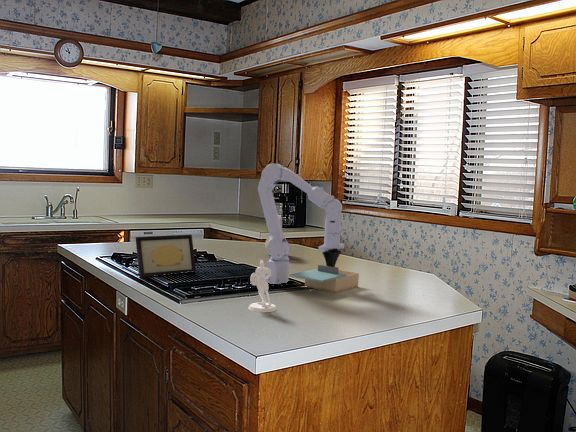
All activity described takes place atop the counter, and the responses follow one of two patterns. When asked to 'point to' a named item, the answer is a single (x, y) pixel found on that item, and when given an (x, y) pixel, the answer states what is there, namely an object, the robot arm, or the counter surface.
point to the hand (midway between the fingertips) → (330, 269)
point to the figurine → (262, 289)
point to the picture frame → (165, 255)
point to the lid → (320, 274)
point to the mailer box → (336, 282)
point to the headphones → (269, 236)
